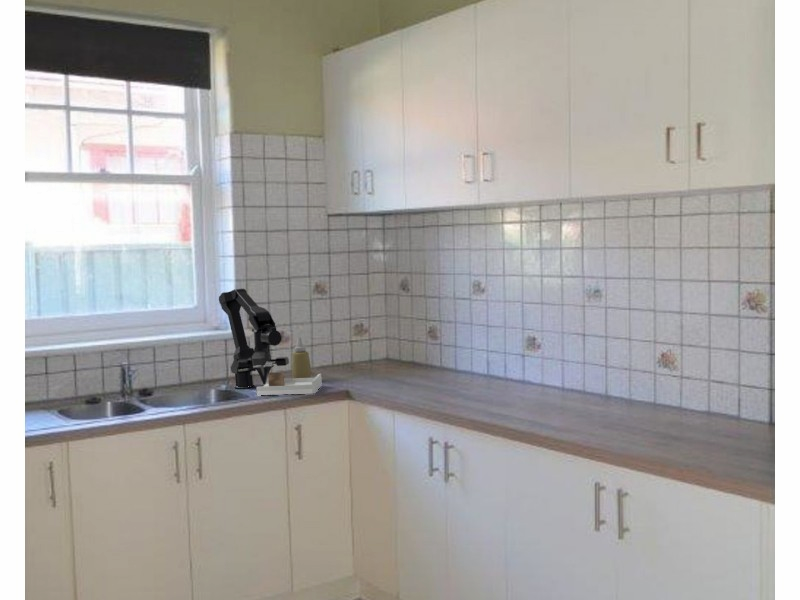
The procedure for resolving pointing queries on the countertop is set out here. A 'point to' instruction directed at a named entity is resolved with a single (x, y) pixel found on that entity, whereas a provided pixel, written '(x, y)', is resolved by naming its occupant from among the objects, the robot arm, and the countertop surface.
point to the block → (276, 379)
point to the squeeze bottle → (300, 362)
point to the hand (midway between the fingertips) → (264, 384)
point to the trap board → (292, 386)
